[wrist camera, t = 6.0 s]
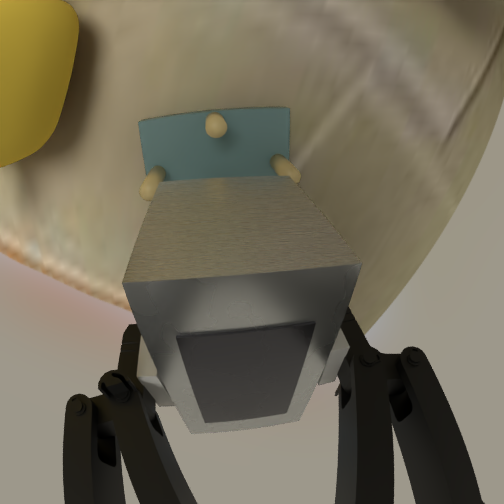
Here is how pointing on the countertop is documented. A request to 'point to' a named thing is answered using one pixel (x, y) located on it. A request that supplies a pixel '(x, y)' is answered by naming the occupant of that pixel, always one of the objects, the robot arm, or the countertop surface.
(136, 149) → the countertop surface
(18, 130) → the teapot
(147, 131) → the pegboard
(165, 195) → the grey box
